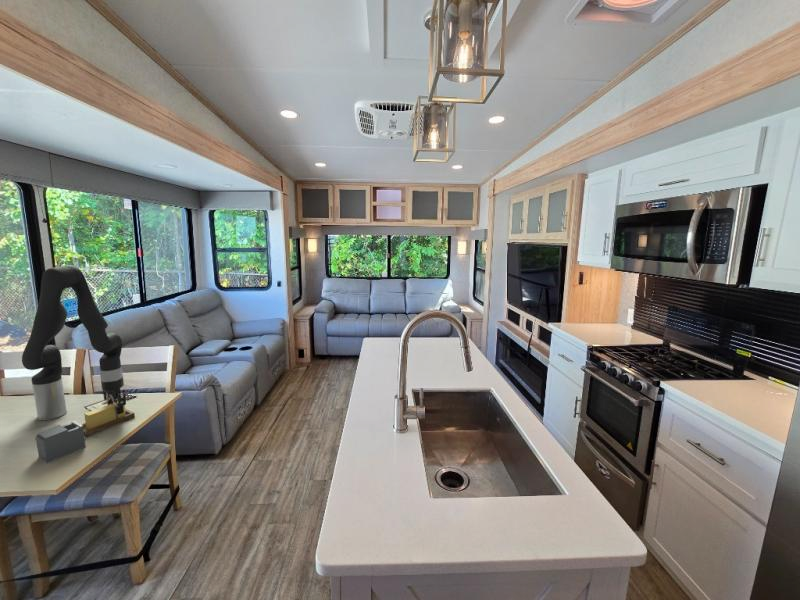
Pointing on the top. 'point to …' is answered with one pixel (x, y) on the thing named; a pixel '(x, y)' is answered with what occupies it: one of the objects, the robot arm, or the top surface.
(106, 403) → the chocolate bar
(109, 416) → the grey-banded yellow bar
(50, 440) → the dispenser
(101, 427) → the tray
